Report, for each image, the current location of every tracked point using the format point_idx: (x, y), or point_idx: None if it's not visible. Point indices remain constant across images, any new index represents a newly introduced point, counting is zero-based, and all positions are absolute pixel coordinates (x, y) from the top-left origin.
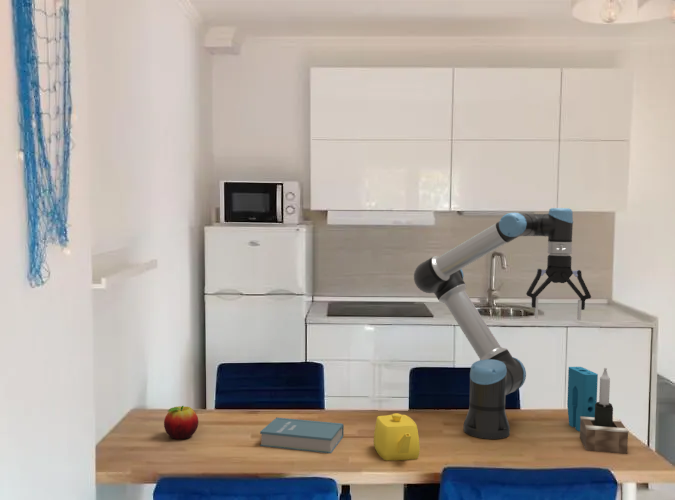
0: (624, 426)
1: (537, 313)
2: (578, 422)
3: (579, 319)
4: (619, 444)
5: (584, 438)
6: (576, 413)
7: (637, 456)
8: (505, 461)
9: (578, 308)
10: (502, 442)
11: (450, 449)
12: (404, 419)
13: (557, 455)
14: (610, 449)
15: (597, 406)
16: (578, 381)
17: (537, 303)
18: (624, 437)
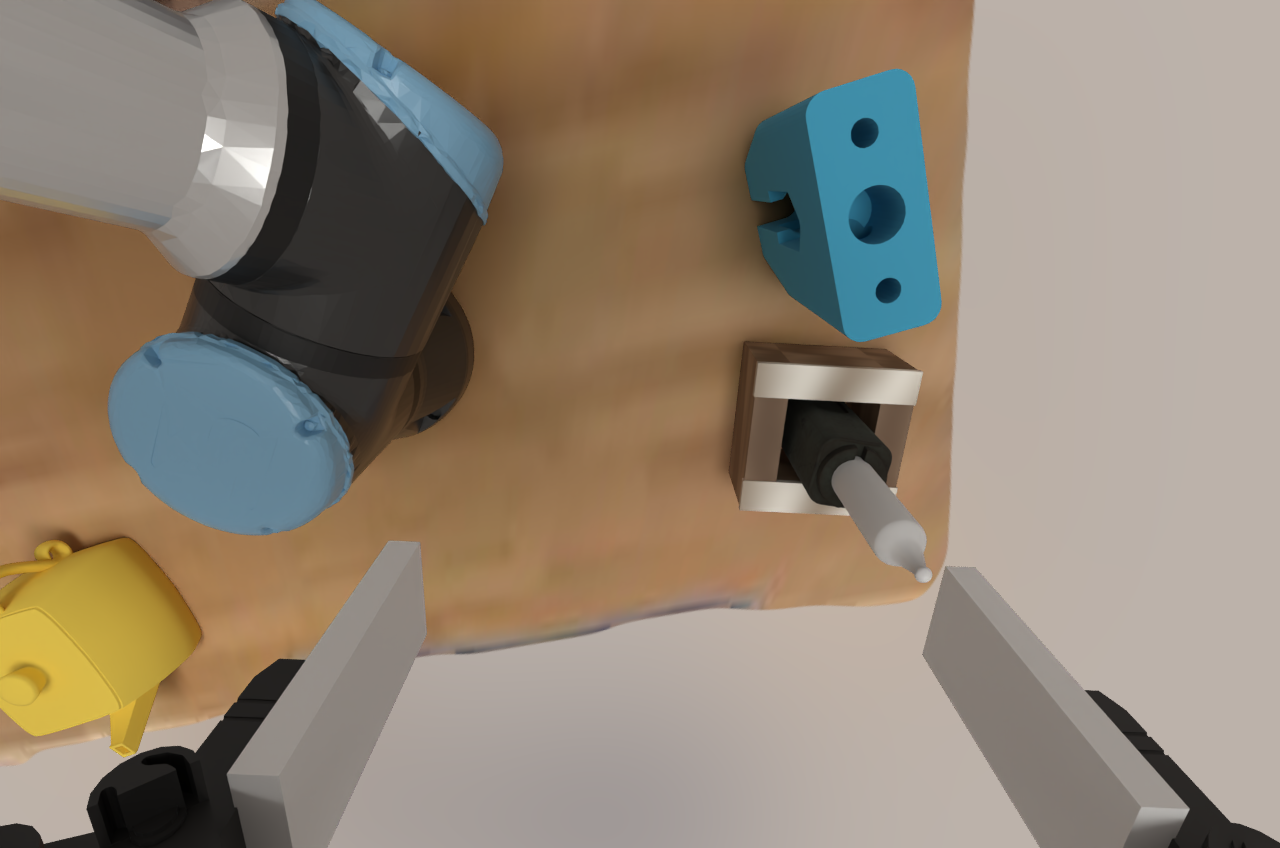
0: (900, 462)
1: (400, 680)
2: (769, 253)
3: (937, 661)
4: None
5: (737, 449)
6: (771, 236)
7: None
8: (457, 610)
9: (1009, 749)
10: (447, 450)
11: (281, 547)
12: (55, 658)
13: (621, 535)
14: None
15: (815, 492)
16: (815, 261)
17: (332, 810)
18: None
